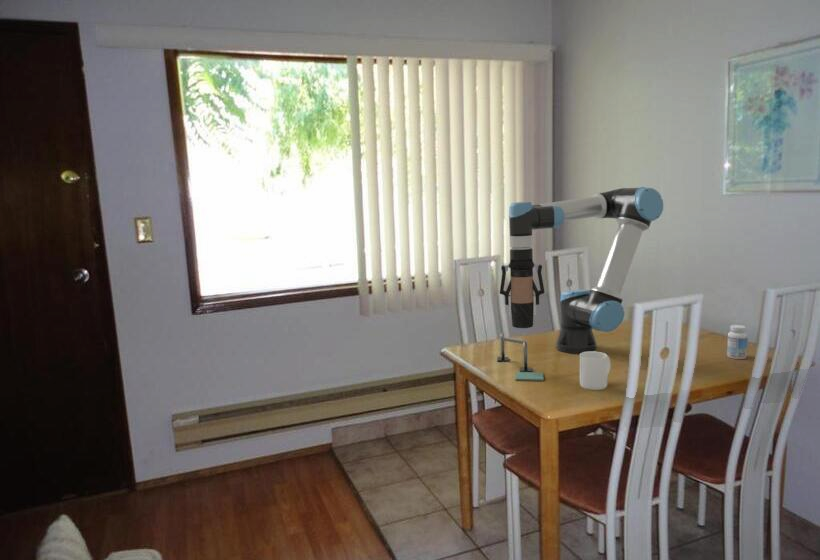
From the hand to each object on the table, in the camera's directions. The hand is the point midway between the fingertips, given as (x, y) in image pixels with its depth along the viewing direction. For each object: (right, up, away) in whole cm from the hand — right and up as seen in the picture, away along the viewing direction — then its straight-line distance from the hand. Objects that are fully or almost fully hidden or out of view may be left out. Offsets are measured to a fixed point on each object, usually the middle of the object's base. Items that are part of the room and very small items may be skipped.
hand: (522, 313), depth 191 cm
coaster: (+1, -21, -5) cm, 22 cm away
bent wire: (-1, -19, +9) cm, 21 cm away
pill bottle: (+78, -16, +6) cm, 79 cm away
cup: (+21, -22, -14) cm, 33 cm away
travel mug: (0, -4, +1) cm, 4 cm away
